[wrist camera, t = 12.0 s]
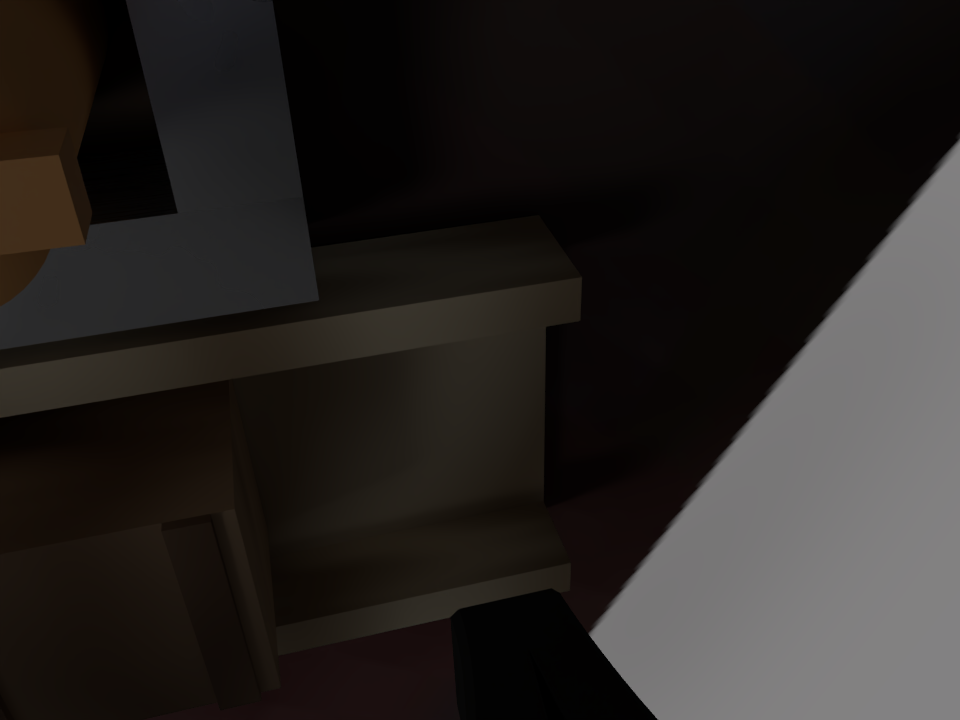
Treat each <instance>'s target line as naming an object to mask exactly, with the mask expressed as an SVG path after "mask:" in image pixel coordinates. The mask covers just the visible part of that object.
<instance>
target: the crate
mask: <svg viewBox="0 0 960 720" xmlns="http://www.w3.org/2000/svg"><path fill="white" fill-rule="evenodd" d="M278 688H281V683H280V671H279V659H278V647H277V635H276V623H275V612H274V600H273V588H272V576H271V564H270V552H269V540H268V530H267V526H266V521H265V517H264V513H263V509H262V504H261V500H260V496H259V492H258V487H257V483H256V479H255V475H254V470H253V466H252V462H251V458H250V453H249V449H248V445H247V441H246V436H245V432H244V428H243V424H242V419H241V415H240V411H239V407H238V402H237V398H236V394H235V389H234V385H233V381H232V379H230V380H224V381H218V382H212V383H206V384H200V385H194V386H188V387H182V388H176V389H170V390H164V391H158V392H152V393H146V394H140V395H134V396H128V397H122V398H116V399H110V400H104V401H98V402H92V403H86V404H80V405H74V406H68V407H62V408H56V409H50V410H44V411H38V412H32V413H26V414H20V415H14V416H8V417H2V418H0V720H143V719H147V718H152V717H156V716H160V715H165V714H169V713H173V712H178V711H182V710H186V709H191V708H195V707H199V706H204V705H208V704H212V703H217V702H218V705H219V708H220V710H224V709H228V708H233V707H237V706H241V705H246V704H250V703H254V702H258V701H261V692H264V691H269V690H273V689H278Z"/></svg>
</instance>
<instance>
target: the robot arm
mask: <svg viewBox="0 0 960 720" xmlns="http://www.w3.org/2000/svg"><path fill="white" fill-rule="evenodd" d="M451 630H452V643H453V656H454V669H455V682H456V695H457V705H458V710H459V714H460V719H461V720H657V718H656V717H655V716H654V715H653V714H652V712H651V711H650V710H649V709H648V708H647V707H646V706H645V705H644V703H643V702H642V701H641V700H640V699H639V698H638V696H637V695H636V694H635V693H634V692H633V690H632V689H631V688H630V687H629V686H628V684H627V683H626V682H625V681H624V680H623V679H622V677H621V676H620V675H619V673H618V672H617V671H616V670H615V668H614V667H613V666H612V664H611V663H610V662H609V661H608V659H607V658H606V657H605V656H604V654H603V653H602V652H601V650H600V649H599V648H598V646H597V645H596V644H595V642H594V641H593V640H592V638H591V637H590V636H589V634H588V633H587V632H586V630H585V629H584V628H583V626H582V625H581V624H580V622H579V621H578V619H577V618H576V616H575V615H574V614H573V612H572V611H571V609H570V608H569V606H568V605H567V603H566V602H565V600H564V599H563V597H562V596H561V594H560V593H559V592H557V591H556V590H554V589H552V588H550V589H546V590H541V591H537V592H532V593H528V594H524V595H519V596H515V597H510V598H506V599H501V600H497V601H492V602H488V603H483V604H479V605H474V606H470V607H465V608H461V609H458V610H457V611H456V612H455V613H454V614H453V615H452V616H451Z"/></svg>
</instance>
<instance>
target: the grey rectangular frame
mask: <svg viewBox="0 0 960 720" xmlns="http://www.w3.org/2000/svg"><path fill="white" fill-rule="evenodd" d="M126 3H127V8H128V12H129V16H130V20H131V24H132V28H133V32H134V36H135V40H136V44H137V48H138V52H139V56H140V61H141V65H142V69H143V73H144V77H145V81H146V85H147V89H148V93H149V97H150V101H151V105H152V109H153V114H154V118H155V122H156V126H157V130H158V134H159V138H160V142H161V146H162V147H160V148H152V149H143V150H135V151H127V152H118V153H110V154H102V155H93V156H85V157H77V160H78V164H79V167H80V170H81V174H82V177H83V181H84V184H85V188H86V191H87V195H88V198H89V202H90V205H91V209H92V217H91V221H90V226H89V230H88V235H87V239H86V244H85V245H78V246H70V247H62V248H53V249H50V251H49V253H48V256H47V258H46V260H45V262H44V264H43V265H42V267H41V269H40V270H39V272H38V273H37V275H36V276H35V277H34V279H33V280H32V281H31V282H30V283H29V284H28V285H27V286H26V288H25V289H24V290H22V291H21V292H20V293H19V294H18V295H16V296H15V297H14V298H13V299H12V300H10V301H9V302H7V303H5V304H4V305H2V306H1V307H0V350H1V349H7V348H14V347H20V346H27V345H33V344H40V343H46V342H53V341H59V340H66V339H72V338H79V337H85V336H92V335H98V334H104V333H111V332H117V331H124V330H130V329H137V328H143V327H150V326H156V325H163V324H169V323H176V322H182V321H189V320H195V319H202V318H208V317H215V316H221V315H228V314H234V313H241V312H247V311H254V310H260V309H267V308H273V307H280V306H286V305H292V304H299V303H305V302H312V301H318V300H319V296H318V289H317V283H316V276H315V270H314V264H313V257H312V251H311V244H310V238H309V231H308V225H307V219H306V212H305V206H304V199H303V193H302V187H301V180H300V174H299V167H298V161H297V155H296V148H295V142H294V135H293V129H292V123H291V116H290V110H289V103H288V97H287V91H286V84H285V78H284V71H283V65H282V59H281V52H280V46H279V39H278V33H277V27H276V20H275V14H274V7H273V1H272V0H126Z"/></svg>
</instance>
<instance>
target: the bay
mask: <svg viewBox="0 0 960 720" xmlns="http://www.w3.org/2000/svg"><path fill="white" fill-rule="evenodd" d="M311 251H312V257H313V264H314V270H315V276H316V283H317V289H318V296H319V300H318V301H312V302H305V303H299V304H292V305H286V306H280V307H273V308H267V309H260V310H254V311H247V312H241V313H234V314H228V315H221V316H215V317H208V318H202V319H195V320H189V321H182V322H176V323H169V324H163V325H156V326H150V327H143V328H137V329H130V330H124V331H117V332H111V333H104V334H98V335H92V336H85V337H79V338H72V339H66V340H59V341H53V342H46V343H40V344H33V345H27V346H20V347H14V348H7V349H1V350H0V418H2V417H8V416H14V415H20V414H26V413H32V412H38V411H44V410H50V409H56V408H62V407H68V406H74V405H80V404H86V403H92V402H98V401H104V400H110V399H116V398H122V397H128V396H134V395H140V394H146V393H152V392H158V391H164V390H170V389H176V388H182V387H188V386H194V385H200V384H206V383H212V382H218V381H224V380H230V379H232V381H233V385H234V389H235V394H236V398H237V402H238V407H239V411H240V415H241V419H242V424H243V428H244V432H245V436H246V441H247V445H248V449H249V453H250V458H251V462H252V466H253V470H254V475H255V479H256V483H257V487H258V492H259V496H260V500H261V504H262V509H263V513H264V517H265V521H266V526H267V530H268V540H269V552H270V564H271V576H272V588H273V600H274V612H275V623H276V635H277V647H278V656H279V655H283V654H288V653H292V652H297V651H301V650H305V649H310V648H314V647H319V646H323V645H328V644H332V643H337V642H341V641H346V640H350V639H355V638H359V637H364V636H368V635H373V634H377V633H381V632H386V631H390V630H395V629H399V628H404V627H408V626H413V625H417V624H422V623H426V622H431V621H435V620H440V619H444V618H449V617H451V616H452V615H453V614H454V613H455V612H456V611H457V610H458V609H461V608H465V607H470V606H474V605H479V604H483V603H488V602H492V601H497V600H501V599H506V598H510V597H515V596H519V595H524V594H528V593H532V592H537V591H541V590H546V589H550V588H552V589H554V590H556V591H557V592H559V593H560V592H565V591H569V590H570V573H571V562H570V560H569V557H568V555H567V553H566V551H565V548H564V546H563V544H562V542H561V539H560V537H559V535H558V533H557V530H556V528H555V526H554V524H553V521H552V519H551V517H550V515H549V512H548V510H547V508H546V506H545V503H544V437H545V358H546V327H547V326H553V325H559V324H565V323H571V322H577V321H580V314H581V288H582V277H581V275H580V274H579V272H578V271H577V269H576V268H575V266H574V265H573V264H572V262H571V261H570V259H569V258H568V256H567V255H566V254H565V252H564V251H563V249H562V248H561V246H560V245H559V243H558V242H557V241H556V239H555V238H554V236H553V235H552V233H551V232H550V230H549V229H548V228H547V226H546V225H545V223H544V222H543V220H542V219H541V217H540V216H539V215H535V216H528V217H521V218H514V219H507V220H500V221H493V222H486V223H479V224H472V225H465V226H458V227H452V228H445V229H438V230H431V231H424V232H417V233H410V234H403V235H396V236H389V237H382V238H375V239H368V240H361V241H354V242H347V243H340V244H333V245H326V246H319V247H312V248H311Z"/></svg>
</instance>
